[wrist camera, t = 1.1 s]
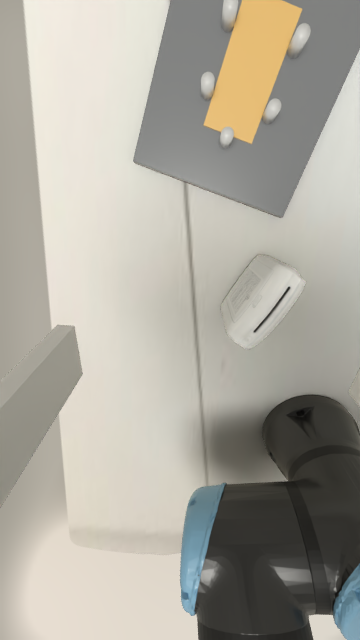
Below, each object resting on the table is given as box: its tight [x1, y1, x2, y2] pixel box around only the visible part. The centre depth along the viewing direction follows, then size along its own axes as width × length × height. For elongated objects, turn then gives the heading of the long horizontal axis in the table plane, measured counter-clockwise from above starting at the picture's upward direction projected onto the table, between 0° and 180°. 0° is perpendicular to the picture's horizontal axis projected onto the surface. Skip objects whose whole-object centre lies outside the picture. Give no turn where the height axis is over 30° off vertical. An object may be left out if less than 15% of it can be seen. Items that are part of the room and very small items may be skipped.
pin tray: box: [133, 0, 360, 218], centre depth 27 cm, size 20×24×4 cm
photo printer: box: [221, 254, 306, 349], centre depth 31 cm, size 10×4×12 cm, turn 148°
